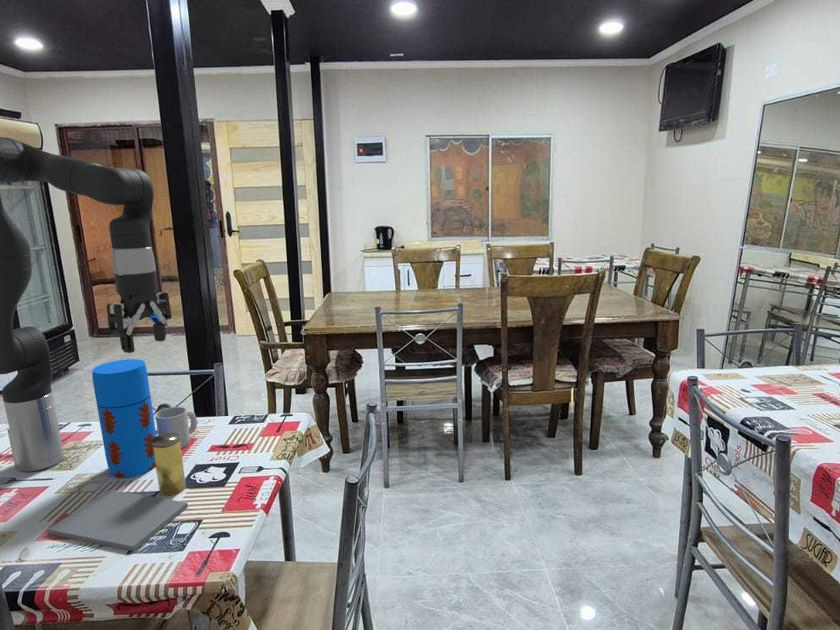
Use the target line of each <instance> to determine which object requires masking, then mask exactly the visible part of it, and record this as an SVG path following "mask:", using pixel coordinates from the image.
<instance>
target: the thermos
mask: <svg viewBox="0 0 840 630" xmlns="http://www.w3.org/2000/svg"><path fill="white" fill-rule="evenodd" d="M91 373H92V377H91V379H92V385H93V389H94V395H95V402H96V403H95V404H96V407H97V408H96V409H97V412H98V413H97V414H98V418H99V425H100V426H99V427H100V430H101V431H100V432H101V437H102V443H103V449H104V456H105V459H106V464H107V467H108V472H109V474H110V475H111V477H112V478H113V477H114V478H118V479H127V478H132V477H133V478H134V477H138V476H141V475H143V474H146V473H148V472H151V471H153V469H156V464H155V457H154V451H153V446H152V439H153V438H155V437H156V436H157V428H156V421H155V415H154V409H153V403H152V395H151V389H150V383H149V375H148V369H147V364H146V361H145V360H142V359H138V358H128V359H127V358H126V359H118V360H113V361H108V362H105V363H102V364H100V365H97V366H95V367H93V368H92V372H91Z"/></svg>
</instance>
